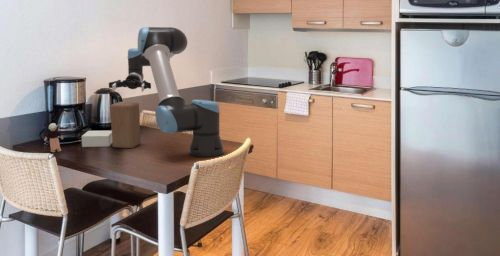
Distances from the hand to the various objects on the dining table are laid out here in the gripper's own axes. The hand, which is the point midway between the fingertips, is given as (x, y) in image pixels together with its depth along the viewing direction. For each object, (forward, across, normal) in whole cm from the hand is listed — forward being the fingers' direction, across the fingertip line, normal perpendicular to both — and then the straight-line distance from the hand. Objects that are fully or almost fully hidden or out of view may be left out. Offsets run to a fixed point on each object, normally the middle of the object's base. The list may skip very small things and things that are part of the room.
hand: (127, 88), depth 213 cm
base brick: (+7, +14, -26) cm, 30 cm away
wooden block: (+12, 0, -25) cm, 28 cm away
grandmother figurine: (+19, +30, -25) cm, 44 cm away
